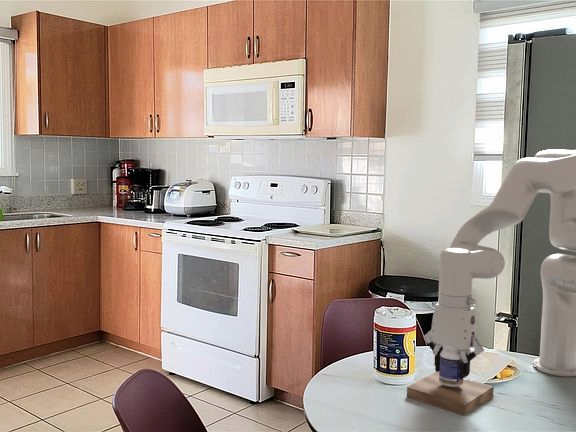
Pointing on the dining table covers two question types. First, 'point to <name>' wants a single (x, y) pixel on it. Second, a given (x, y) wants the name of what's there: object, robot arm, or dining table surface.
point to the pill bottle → (450, 367)
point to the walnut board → (450, 394)
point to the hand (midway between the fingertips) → (451, 372)
